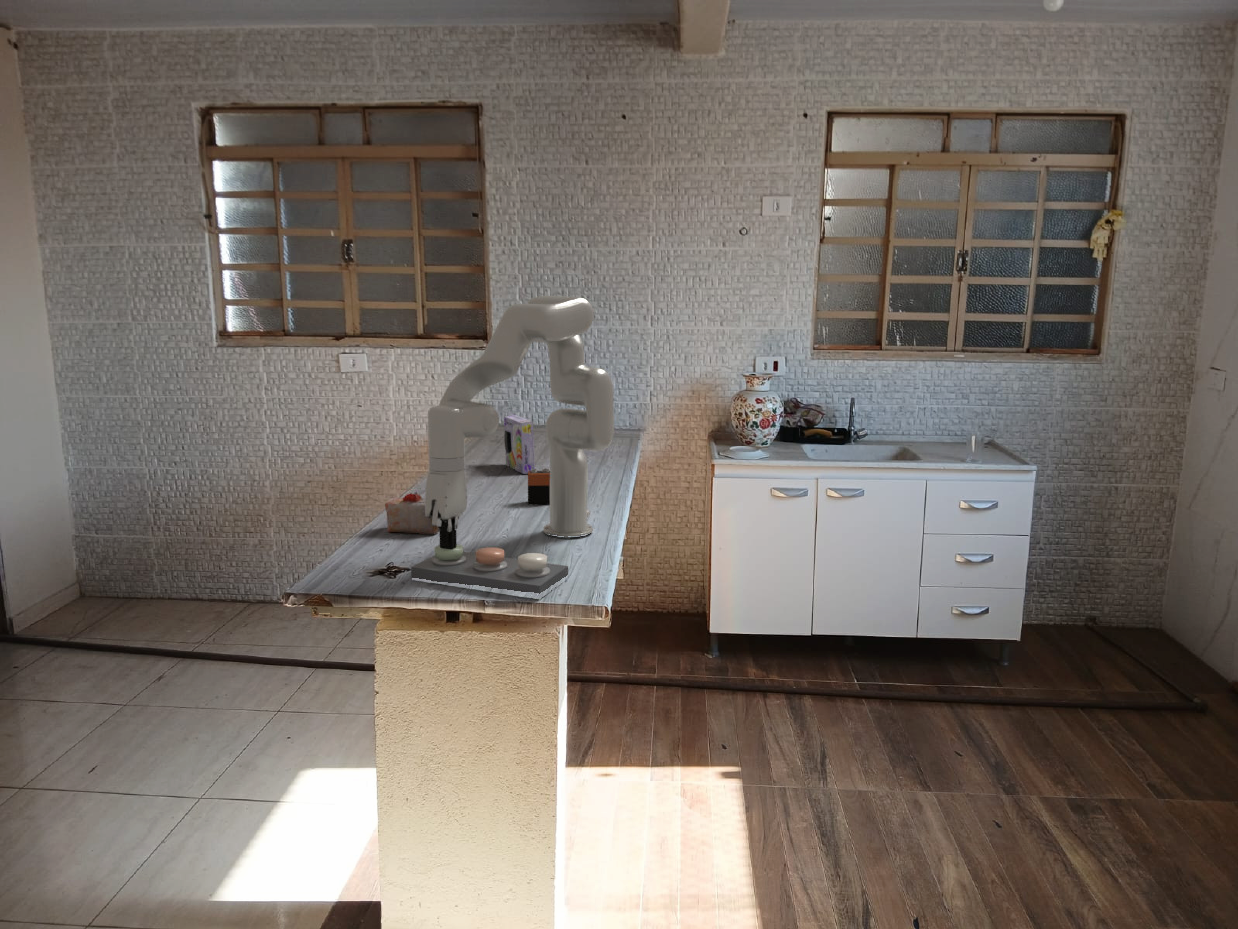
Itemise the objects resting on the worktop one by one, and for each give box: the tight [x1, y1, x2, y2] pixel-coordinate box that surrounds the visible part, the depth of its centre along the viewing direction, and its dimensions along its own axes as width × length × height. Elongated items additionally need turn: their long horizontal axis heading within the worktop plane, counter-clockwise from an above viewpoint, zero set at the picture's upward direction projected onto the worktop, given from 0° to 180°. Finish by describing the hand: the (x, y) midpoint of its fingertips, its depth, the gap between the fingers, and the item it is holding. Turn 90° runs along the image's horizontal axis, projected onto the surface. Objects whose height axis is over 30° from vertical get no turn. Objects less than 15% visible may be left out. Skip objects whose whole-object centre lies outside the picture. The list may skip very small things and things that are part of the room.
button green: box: [434, 543, 464, 560], centre depth 193 cm, size 6×6×2 cm
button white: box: [517, 552, 548, 570], centre depth 186 cm, size 6×6×2 cm
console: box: [410, 551, 569, 594], centre depth 190 cm, size 14×30×4 cm, turn 69°
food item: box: [384, 491, 440, 535], centre depth 226 cm, size 14×8×10 cm, turn 82°
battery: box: [527, 467, 550, 505], centre depth 257 cm, size 4×7×10 cm, turn 97°
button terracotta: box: [475, 547, 505, 564], centre depth 190 cm, size 6×6×2 cm
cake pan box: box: [503, 414, 536, 475], centre depth 302 cm, size 19×5×18 cm, turn 25°
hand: (448, 547), depth 193 cm, fingers closed
